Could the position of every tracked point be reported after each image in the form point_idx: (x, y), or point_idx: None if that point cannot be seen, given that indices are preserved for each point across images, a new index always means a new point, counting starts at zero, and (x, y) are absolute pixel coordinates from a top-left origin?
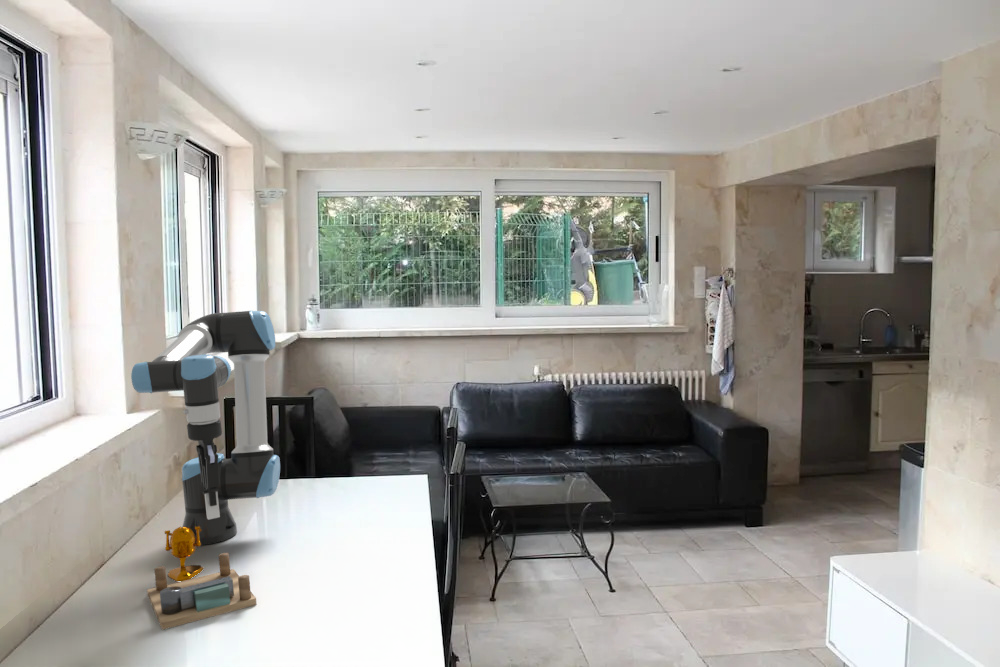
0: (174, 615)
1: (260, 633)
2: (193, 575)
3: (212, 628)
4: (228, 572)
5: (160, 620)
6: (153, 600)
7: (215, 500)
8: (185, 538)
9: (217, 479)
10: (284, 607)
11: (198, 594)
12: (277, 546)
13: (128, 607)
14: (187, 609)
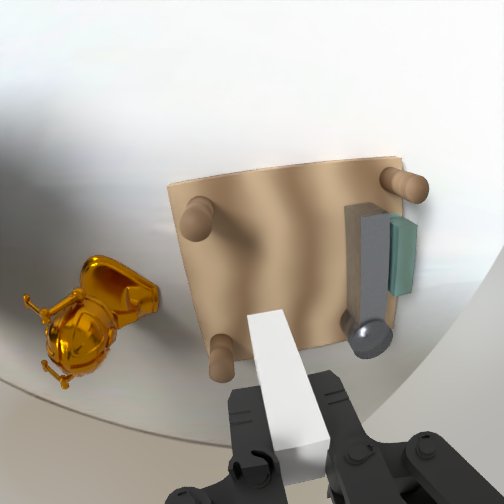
0: None
1: (487, 178)
2: (140, 279)
3: (435, 246)
4: (211, 203)
5: None
6: None
7: (347, 397)
8: (97, 343)
9: (492, 494)
10: (432, 111)
11: (410, 287)
12: (28, 78)
13: (252, 377)
14: None
